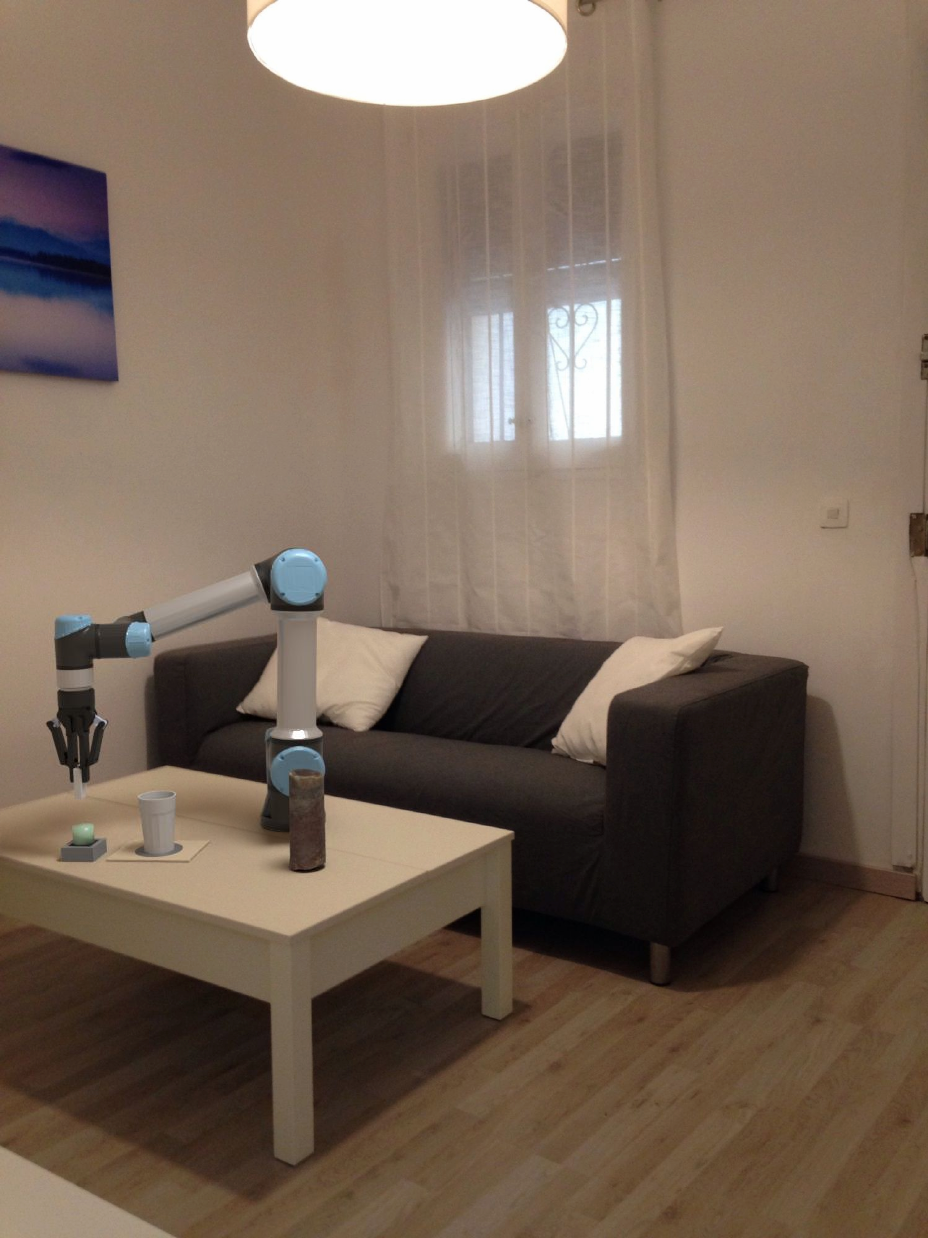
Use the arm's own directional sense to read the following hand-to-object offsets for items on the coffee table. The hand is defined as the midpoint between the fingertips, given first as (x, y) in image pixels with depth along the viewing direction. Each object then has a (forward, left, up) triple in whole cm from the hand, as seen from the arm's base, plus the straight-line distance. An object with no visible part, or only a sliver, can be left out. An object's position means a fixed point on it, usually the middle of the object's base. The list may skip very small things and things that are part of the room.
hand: (80, 797), depth 238 cm
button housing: (0, 0, -13) cm, 13 cm away
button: (0, 0, -10) cm, 10 cm away
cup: (-15, -4, -13) cm, 20 cm away
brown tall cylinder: (-50, +5, -13) cm, 52 cm away
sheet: (-15, -4, -13) cm, 20 cm away
